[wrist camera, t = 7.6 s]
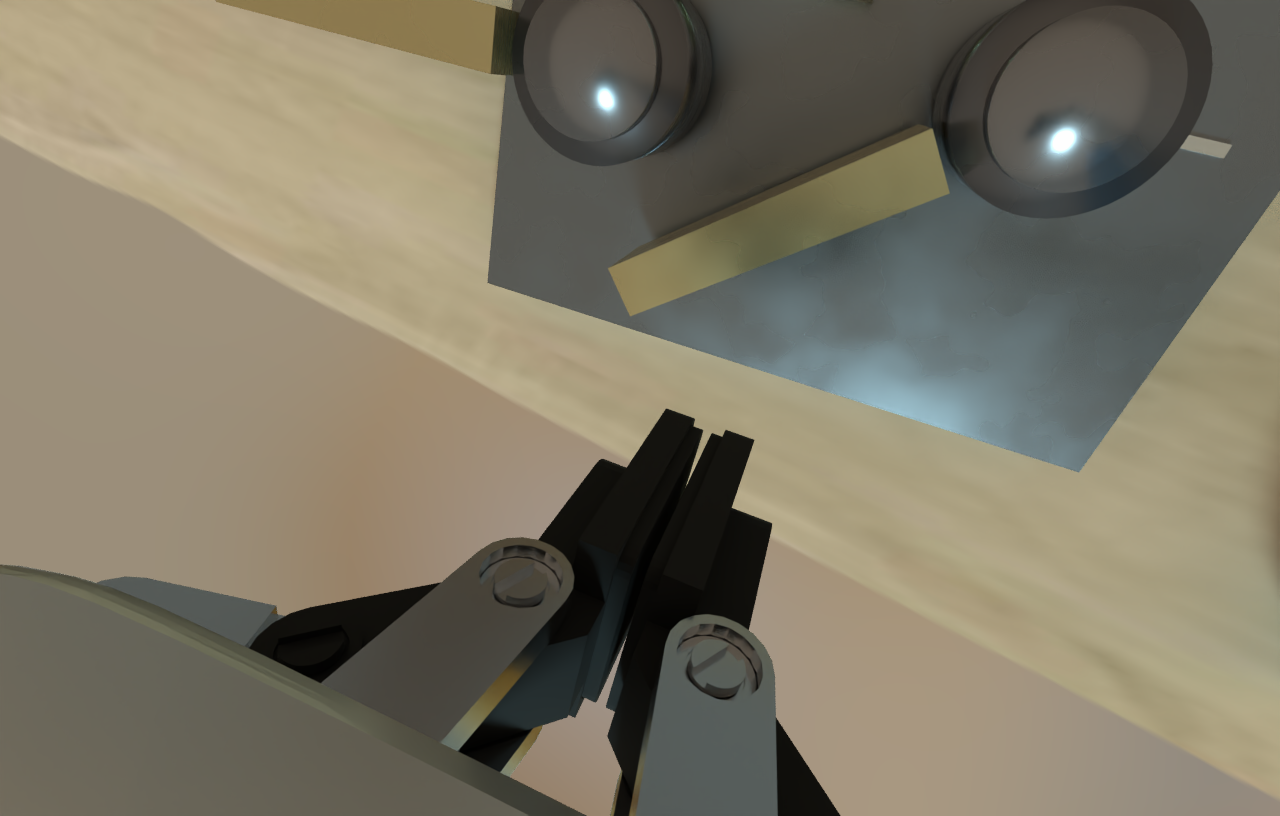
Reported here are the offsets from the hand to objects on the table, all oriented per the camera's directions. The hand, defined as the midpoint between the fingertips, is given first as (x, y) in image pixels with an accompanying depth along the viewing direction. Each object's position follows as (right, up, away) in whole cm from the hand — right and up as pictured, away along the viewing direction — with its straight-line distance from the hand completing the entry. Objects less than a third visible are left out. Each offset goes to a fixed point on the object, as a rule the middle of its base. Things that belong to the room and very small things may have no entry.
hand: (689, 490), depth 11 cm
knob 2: (+5, +8, +5) cm, 11 cm away
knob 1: (-5, +12, +6) cm, 15 cm away
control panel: (+5, +9, +7) cm, 13 cm away
